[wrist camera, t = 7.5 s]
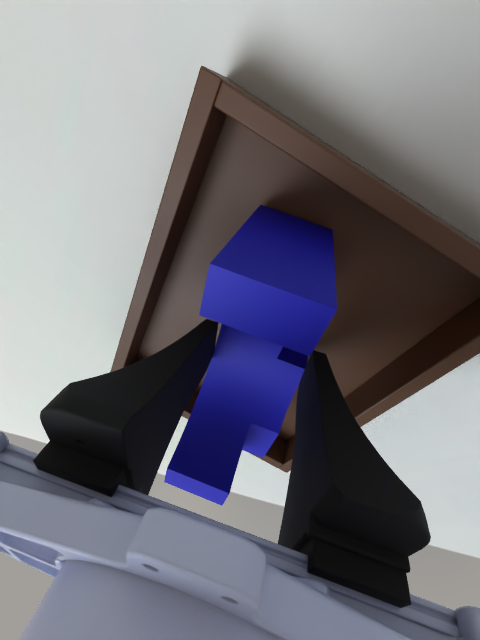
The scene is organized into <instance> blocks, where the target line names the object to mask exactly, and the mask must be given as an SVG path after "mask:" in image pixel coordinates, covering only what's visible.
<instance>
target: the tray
mask: <svg viewBox="0 0 480 640" xmlns="http://www.w3.org/2000/svg"><path fill="white" fill-rule="evenodd" d="M260 204H261V205H264V206H266V207H269V208H272V209H275V210H278V211H281V212H284V213H287V214H289V215H292V216H295V217H298V218H301V219H304V220H307V221H310V222H313V223H315V224H318V225H321V226H324V227H327V228H330V229H333V243H334V261H335V280H336V298H337V311H336V313H335V314H334V316H333V318H332V319H331V321H330V323H329V325H328V326H327V328H326V330H325V331H324V333H323V335H322V336H321V338H320V340H319V342H318V343H317V345H316V347H315V348H314V350H315V351H318V352H322V353H325V354H326V355H327V357H328V360H329V363H330V366H331V368H332V371H333V374H334V376H335V379H336V381H337V383H338V386H339V388H340V390H341V392H342V395H343V397H344V399H345V401H346V403H347V405H348V407H349V409H350V411H351V412H352V414H353V416H354V418H355V419H356V421H357V423H358V424H359V426H360V427H361V426H363V425H364V424H366V423H368V422H369V421H371V420H373V419H374V418H376V417H377V416H379V415H381V414H382V413H384V412H385V411H387V410H389V409H390V408H392V407H394V406H395V405H397V404H398V403H400V402H402V401H403V400H405V399H406V398H408V397H410V396H411V395H413V394H415V393H416V392H418V391H419V390H421V389H423V388H424V387H426V386H427V385H429V384H431V383H432V382H434V381H436V380H437V379H439V378H440V377H442V376H444V375H445V374H447V373H448V372H450V371H452V370H453V369H455V368H457V367H458V366H460V365H461V364H463V363H465V362H466V361H468V360H469V359H471V358H473V357H474V356H476V355H478V354H479V353H480V244H478V243H477V242H475V241H474V240H472V239H471V238H469V237H468V236H466V235H464V234H463V233H461V232H460V231H458V230H457V229H455V228H454V227H452V226H451V225H449V224H448V223H446V222H445V221H443V220H442V219H440V218H439V217H437V216H436V215H434V214H433V213H431V212H430V211H428V210H427V209H425V208H424V207H422V206H421V205H419V204H417V203H416V202H414V201H413V200H411V199H410V198H408V197H407V196H405V195H404V194H402V193H401V192H399V191H398V190H396V189H395V188H393V187H392V186H390V185H389V184H387V183H386V182H384V181H383V180H381V179H380V178H378V177H377V176H375V175H374V174H372V173H370V172H369V171H367V170H366V169H364V168H363V167H361V166H360V165H358V164H357V163H355V162H354V161H352V160H351V159H349V158H348V157H346V156H345V155H343V154H342V153H340V152H339V151H337V150H336V149H334V148H333V147H331V146H330V145H328V144H327V143H325V142H323V141H322V140H320V139H319V138H317V137H316V136H314V135H313V134H311V133H310V132H308V131H307V130H305V129H304V128H302V127H301V126H299V125H298V124H296V123H295V122H293V121H292V120H290V119H289V118H287V117H286V116H284V115H283V114H281V113H279V112H278V111H276V110H275V109H273V108H272V107H270V106H269V105H267V104H266V103H264V102H263V101H261V100H260V99H258V98H257V97H255V96H254V95H252V94H251V93H249V92H248V91H246V90H245V89H243V88H242V87H240V86H239V85H237V84H236V83H234V82H232V81H231V80H229V79H228V78H226V77H224V76H222V75H220V74H218V73H216V72H214V71H212V70H210V69H208V68H206V67H204V66H201V68H200V71H199V75H198V78H197V81H196V85H195V88H194V92H193V95H192V98H191V102H190V105H189V109H188V112H187V115H186V119H185V122H184V125H183V129H182V132H181V136H180V139H179V142H178V146H177V149H176V152H175V156H174V159H173V163H172V166H171V169H170V173H169V176H168V179H167V183H166V186H165V190H164V193H163V196H162V200H161V203H160V207H159V210H158V213H157V217H156V220H155V223H154V227H153V230H152V234H151V237H150V240H149V244H148V247H147V250H146V254H145V257H144V261H143V264H142V267H141V271H140V274H139V277H138V281H137V284H136V288H135V291H134V294H133V298H132V301H131V305H130V308H129V311H128V315H127V318H126V321H125V325H124V328H123V332H122V335H121V338H120V342H119V345H118V348H117V352H116V355H115V359H114V362H113V365H112V369H111V372H113V371H116V370H119V369H121V368H124V367H127V366H129V365H131V364H134V363H136V362H138V361H141V360H143V359H145V358H147V357H149V356H151V355H153V354H155V353H157V352H159V351H160V350H162V349H164V348H165V347H167V346H169V345H170V344H172V343H174V342H175V341H177V340H178V339H180V338H181V337H182V336H184V335H185V334H187V333H188V332H190V331H191V330H192V329H194V328H195V327H196V326H198V325H199V324H200V323H201V322H203V321H204V320H206V319H208V318H206V317H203V316H200V315H199V313H200V308H201V303H202V298H203V294H204V289H205V284H206V279H207V274H208V270H209V265H210V263H211V262H212V260H213V259H214V258H215V257H216V256H217V255H218V253H219V252H220V251H221V250H222V249H223V248H224V246H225V245H226V244H227V243H228V242H229V241H230V239H231V238H232V237H233V236H234V235H235V234H236V232H237V231H238V230H239V229H240V228H241V227H242V225H243V224H244V223H245V222H246V221H247V220H248V218H249V217H250V216H251V215H252V214H253V213H254V211H255V210H256V209H257V208H258V207H259V206H260ZM209 320H211V319H209ZM212 321H214V320H212ZM215 322H216V321H215ZM221 324H222V323H218V330H217V337H216V343H217V339H218V336H219V332H220V328H221ZM215 346H216V344H215ZM309 358H310V356H308V360H309ZM308 360H307V362H308ZM209 365H210V364H209ZM207 370H208V369H207ZM206 373H207V371H206ZM206 373H205V375H204V376H203V378H202V380H201V382H200V383H199V385H198V387H197V389H196V390H195V392H194V394H193V395H192V397H191V399H190V401H189V402H188V404H187V406H186V408H185V410H184V412H183V414H182V416H183V417H185V418H187V419H188V420H189V417H190V415H191V413H192V410H193V408H194V405H195V403H196V400H197V397H198V395H199V392H200V390H201V387H202V384H203V382H204V379H205V376H206ZM298 388H299V385H298V387H297V389H296V391H295V393H294V395H293V398H292V400H291V402H290V405H289V407H288V410H287V412H286V415H285V418H284V420H283V423H282V426H281V429H280V432H279V434H278V436H277V437H276V439H275V440H274V442H273V444H272V445H271V447H270V448H269V450H268V451H267V453H266V454H265V456H264V457H263V458H262V457H259V456H257V455H255V456H256V457H258V458H260V459H262V460H264V461H266V462H267V463H269V464H271V465H273V466H275V467H277V468H279V469H281V470H282V471H284V472H289V471H290V470H291V466H292V459H293V453H294V443H295V423H296V403H297V394H298ZM251 454H252V453H251ZM253 455H254V454H253Z"/></svg>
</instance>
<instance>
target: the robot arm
mask: <svg viewBox="0 0 480 640" xmlns="http://www.w3.org/2000/svg"><path fill="white" fill-rule="evenodd" d="M218 323H219V322H215V321H212V320H209V319H206V320H204V321H203V322H201V323H200V324H199V325H198V326H196V327H195V328H194V329H192V330H191V331H190V332H188V333H187V334H185V335H184V336H182V337H181V338H180V339H178V340H177V341H175V342H174V343H172V344H170V345H169V346H167V347H165V348H164V349H162V350H160V351H159V352H157V353H155V354H153V355H151V356H149V357H147V358H145V359H143V360H141V361H138V362H136V363H134V364H131V365H129V366H127V367H124V368H121V369H119V370H116V371H113V372H110V373H107V374H103V375H100V376H97V377H93V378H89V379H85V380H81V381H77V382H73V383H70V384H69V385H68V386H66V387H65V388H64V389H63V390H62V391H61V392H60V393H59V394H58V395H57V396H56V397H55V398H54V399H53V400H52V401H51V402H50V403H49V404H48V405H47V406H46V407H45V408H44V409H43V410H42V411H41V414H40V419H41V422H42V425H43V427H44V429H45V431H46V433H47V436H48V438H49V440H50V442H49V443H48V444H47V445H46V446H45V447H44V448H43V449H42V451H41V452H40V453H39V454H36V453H34V452H31V451H28V450H26V449H23V448H20V447H18V446H15V445H12V444H10V443H9V440H8V438H7V436H6V435H5V434H4V433H3V432H1V431H0V552H2V553H4V554H6V555H8V556H10V557H13V558H14V559H17V560H19V561H21V562H23V563H25V564H27V565H29V566H31V567H33V568H35V569H37V570H40V571H42V572H44V573H46V574H48V575H50V576H52V577H54V578H55V579H54V580H53V582H52V584H51V585H50V587H49V589H48V591H47V592H46V594H45V595H44V597H43V599H42V600H41V602H40V604H39V605H38V607H37V609H36V610H35V612H34V614H33V615H32V617H31V619H30V620H29V622H28V623H27V625H26V627H25V628H24V630H23V632H22V634H21V635H20V637H19V638H18V640H480V608H477V607H471V606H464V607H460V608H458V609H456V610H455V611H454V610H452V609H449V608H446V607H444V606H441V605H438V604H435V603H433V602H430V601H427V600H425V599H422V598H420V597H417V596H414V595H412V594H410V593H409V587H408V581H407V576H406V572H407V573H408V572H410V564H409V559H408V556H410V555H412V554H414V553H415V552H417V551H419V550H421V549H423V548H424V547H425V546H426V545H427V544H428V543H429V542H430V538H431V536H430V532H429V528H428V524H427V520H426V516H425V513H424V510H423V508H422V504H421V501H420V500H419V499H418V498H417V497H416V496H415V495H414V494H413V493H412V492H411V491H410V489H409V488H408V487H407V486H406V485H405V484H404V483H403V482H402V481H401V480H400V479H399V478H398V476H397V475H396V474H395V473H394V472H393V471H392V469H391V468H390V467H389V466H388V465H387V463H386V462H385V461H384V460H383V458H382V457H381V456H380V455H379V453H378V452H377V451H376V449H375V448H374V446H373V445H372V444H371V442H370V441H369V440H368V438H367V437H366V435H365V434H364V432H363V431H362V429H361V428H360V426H359V424H358V423H357V421H356V419H355V418H354V416H353V414H352V412H351V411H350V409H349V407H348V405H347V403H346V401H345V399H344V397H343V395H342V392H341V390H340V388H339V386H338V383H337V381H336V379H335V376H334V374H333V371H332V368H331V366H330V363H329V360H328V357H327V355H326V354H325V353H322V352H318V351H315V350H313V352H312V354H311V355H310V358H309V360H308V362H307V365H306V367H305V370H304V372H303V375H302V377H301V380H300V383H299V388H298V394H297V403H296V423H295V443H294V453H293V459H292V466H291V473H290V479H289V485H288V491H287V497H286V502H285V508H284V514H283V520H282V525H281V530H280V535H279V540H278V544H276V543H273V542H271V541H268V540H265V539H263V538H260V537H257V536H255V535H252V534H249V533H246V532H244V531H241V530H239V529H236V528H233V527H231V526H228V525H225V524H223V523H220V522H217V521H215V520H212V519H209V518H207V517H204V516H201V515H199V514H196V513H193V512H191V511H188V510H186V509H183V508H180V507H178V506H175V505H172V504H169V503H167V502H164V501H162V500H159V499H156V498H153V497H151V496H148V494H149V491H150V489H151V486H152V484H153V481H154V478H155V476H156V474H157V471H158V469H159V467H160V464H161V462H162V459H163V457H164V454H165V452H166V450H167V447H168V445H169V443H170V440H171V438H172V436H173V434H174V431H175V429H176V427H177V425H178V422H179V420H180V418H181V416H182V414H183V412H184V410H185V408H186V406H187V404H188V402H189V401H190V399H191V397H192V395H193V394H194V392H195V390H196V389H197V387H198V385H199V383H200V382H201V380H202V378H203V376H204V375H205V373H206V371H207V369H208V367H209V364H210V362H211V359H212V356H213V352H214V349H215V344H216V337H217V330H218Z"/></svg>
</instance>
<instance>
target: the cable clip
mask: <svg viewBox="0 0 480 640" xmlns="http://www.w3.org/2000/svg"><path fill="white" fill-rule="evenodd" d="M336 311H337V298H336V280H335V261H334V243H333V229H330V228H327V227H324V226H321V225H318V224H315V223H313V222H310V221H307V220H304V219H301V218H298V217H295V216H292V215H289V214H287V213H284V212H281V211H278V210H275V209H272V208H269V207H266V206H264V205H261V204H260V206H259V207H258V208H257V209H256V210H255V211H254V213H253V214H252V215H251V216H250V217H249V218H248V220H247V221H246V222H245V223H244V224H243V225H242V227H241V228H240V229H239V230H238V231H237V232H236V234H235V235H234V236H233V237H232V238H231V239H230V241H229V242H228V243H227V244H226V245H225V246H224V248H223V249H222V250H221V251H220V252H219V253H218V255H217V256H216V257H215V258H214V259H213V260H212V262H211V263H210V265H209V270H208V274H207V279H206V284H205V289H204V294H203V298H202V303H201V308H200V313H199V315H200V316H203V317H206V318H208V319H211V320H214V321H216V322H219V323H222V324H221V328H220V332H219V336H218V339H217V343H216V346H215V349H214V352H213V356H212V359H211V362H210V365H209V367H208V370H207V373H206V376H205V379H204V382H203V384H202V387H201V390H200V392H199V395H198V397H197V400H196V403H195V405H194V408H193V410H192V413H191V415H190V417H189V420H188V422H187V425H186V427H185V429H184V432H183V434H182V436H181V439H180V441H179V443H178V446H177V448H176V450H175V452H174V455H173V457H172V459H171V461H170V463H169V465H168V468H167V471H166V476H165V482H166V483H168V484H171V485H173V486H176V487H178V488H180V489H183V490H185V491H188V492H190V493H193V494H195V495H198V496H200V497H203V498H205V499H207V500H210V501H212V502H215V503H217V504H220V505H223V503H224V502H225V500H226V498H227V497H228V495H229V493H230V489H231V485H232V482H233V478H234V475H235V471H236V468H237V464H238V461H239V458H240V455H241V451H242V450H244V451H247V452H249V453H252V454H254V455H257V456H259V457H262V458H263V457H264V456H265V454H266V453H267V451H268V450H269V448H270V447H271V445H272V444H273V442H274V440H275V439H276V437H277V436H278V434H279V432H280V429H281V426H282V423H283V420H284V418H285V415H286V412H287V410H288V407H289V405H290V402H291V400H292V398H293V395H294V393H295V391H296V389H297V387H298V385H299V383H300V380H301V377H302V375H303V372H304V370H305V367H306V365H307V360H308V356H310V355H311V354H312V352H313V350H314V348H315V347H316V345H317V343H318V342H319V340H320V338H321V336H322V335H323V333H324V331H325V330H326V328H327V326H328V325H329V323H330V321H331V319H332V318H333V316H334V314H335V313H336Z"/></svg>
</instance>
